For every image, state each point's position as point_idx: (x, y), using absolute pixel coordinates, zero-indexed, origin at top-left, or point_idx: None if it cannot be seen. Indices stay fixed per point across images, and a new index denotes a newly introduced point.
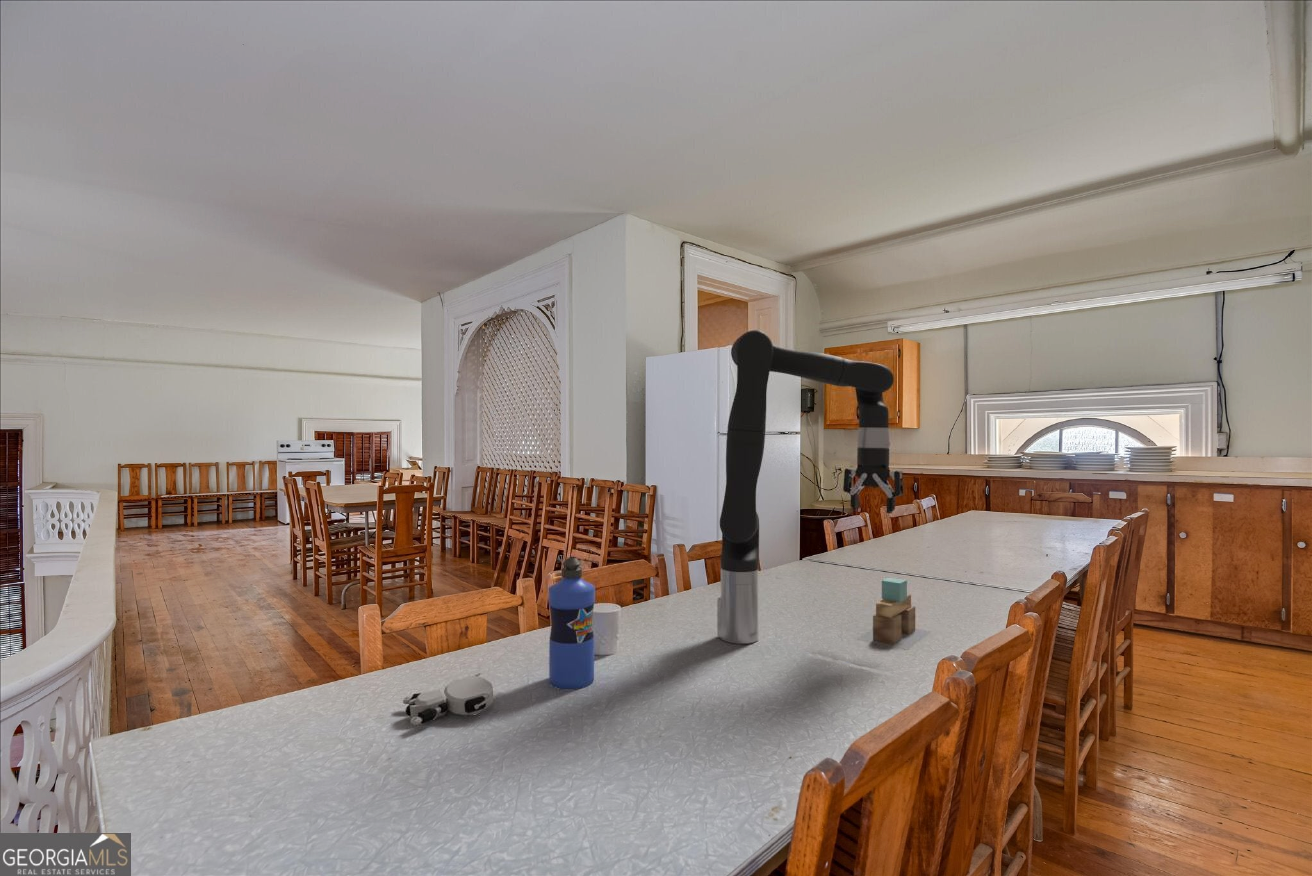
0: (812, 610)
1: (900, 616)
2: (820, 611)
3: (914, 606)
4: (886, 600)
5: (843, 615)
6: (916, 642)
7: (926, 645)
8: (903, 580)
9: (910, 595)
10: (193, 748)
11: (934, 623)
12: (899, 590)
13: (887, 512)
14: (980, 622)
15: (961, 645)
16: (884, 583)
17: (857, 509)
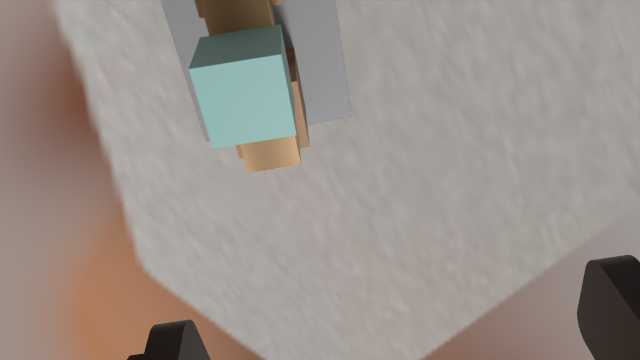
0: (603, 80)
1: (197, 7)
2: (576, 90)
3: (240, 154)
4: (250, 14)
5: (495, 109)
6: (162, 4)
7: (151, 32)
8: (218, 133)
9: (246, 165)
10: None
11: (264, 228)
12: (196, 54)
13: (175, 322)
14: (197, 307)
15: (96, 112)
16: (266, 51)
17: (582, 305)
